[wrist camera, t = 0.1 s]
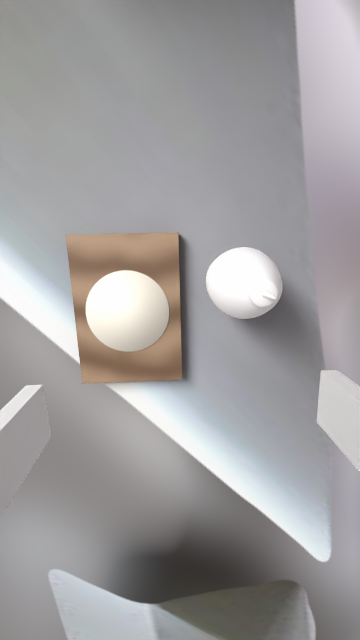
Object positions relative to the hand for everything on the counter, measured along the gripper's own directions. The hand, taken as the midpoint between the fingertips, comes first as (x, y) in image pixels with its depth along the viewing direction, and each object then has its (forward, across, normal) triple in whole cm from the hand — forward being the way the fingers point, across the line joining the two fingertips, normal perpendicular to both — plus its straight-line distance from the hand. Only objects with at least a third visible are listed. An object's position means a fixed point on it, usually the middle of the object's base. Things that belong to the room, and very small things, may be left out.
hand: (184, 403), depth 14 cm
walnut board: (+28, -6, -1) cm, 29 cm away
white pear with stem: (+28, +8, +3) cm, 29 cm away
